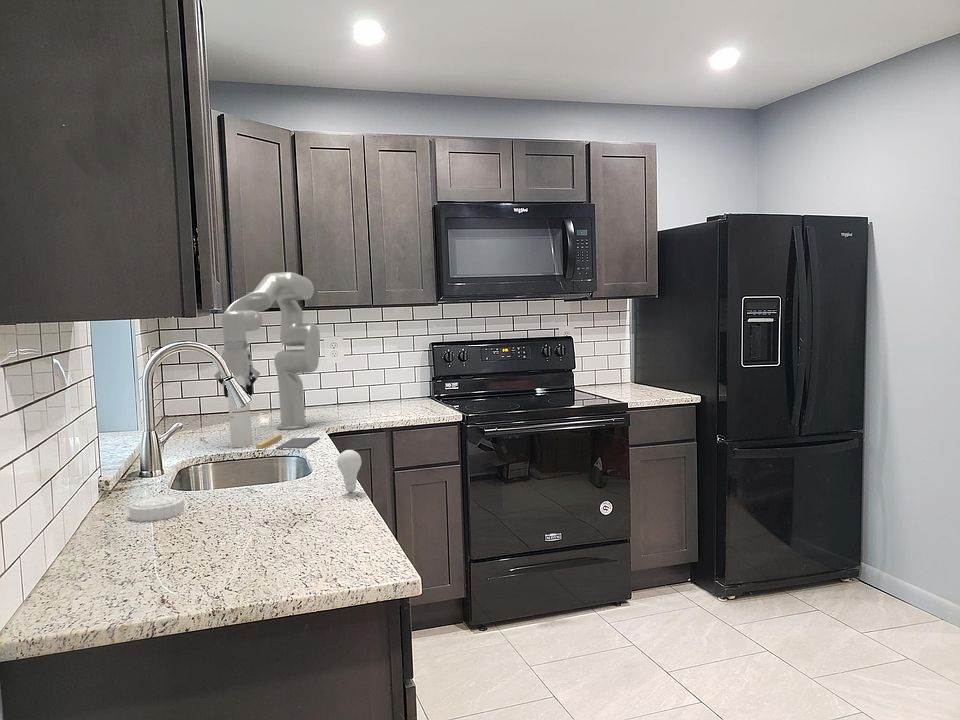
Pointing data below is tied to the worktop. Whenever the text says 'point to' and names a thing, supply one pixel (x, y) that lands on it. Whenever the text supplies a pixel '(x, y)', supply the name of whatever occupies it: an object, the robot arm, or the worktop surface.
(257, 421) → the worktop surface
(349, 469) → the lightbulb
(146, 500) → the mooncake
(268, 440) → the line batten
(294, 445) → the mat
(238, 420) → the grey tall block
